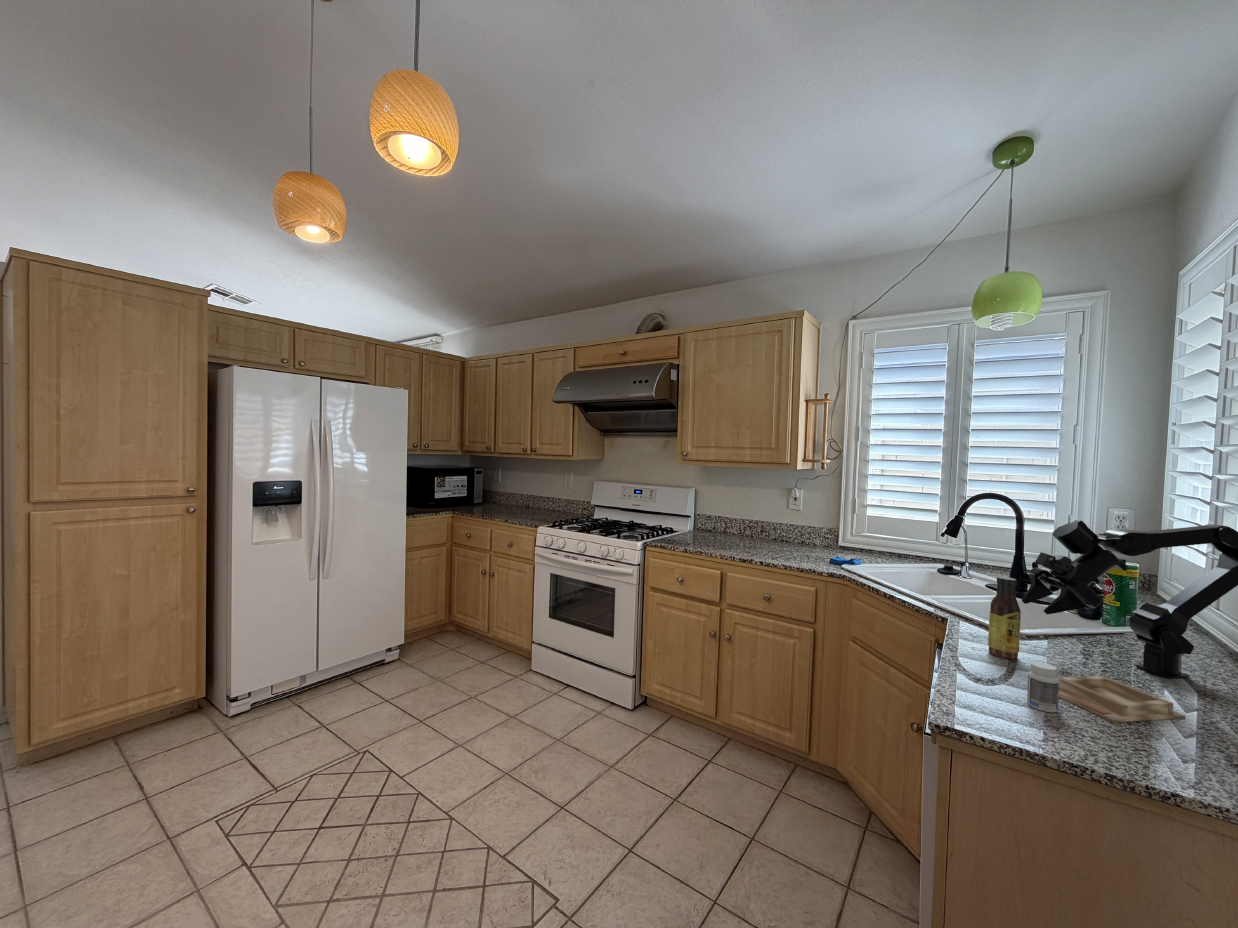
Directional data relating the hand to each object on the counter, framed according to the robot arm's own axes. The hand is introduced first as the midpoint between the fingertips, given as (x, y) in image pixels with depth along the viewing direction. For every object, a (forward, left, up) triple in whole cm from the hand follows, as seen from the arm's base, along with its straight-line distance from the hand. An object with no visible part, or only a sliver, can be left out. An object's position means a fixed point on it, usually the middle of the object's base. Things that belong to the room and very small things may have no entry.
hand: (1033, 607), depth 122 cm
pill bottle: (+23, +22, -13) cm, 35 cm away
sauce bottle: (+6, -2, -13) cm, 15 cm away
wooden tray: (+6, +22, -13) cm, 26 cm away
